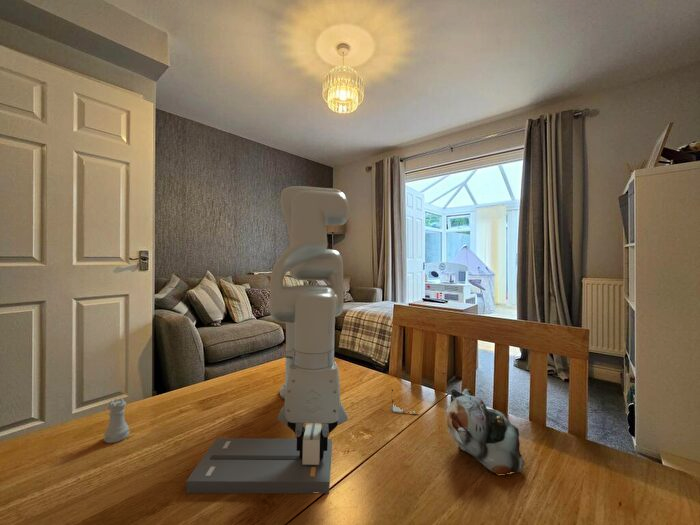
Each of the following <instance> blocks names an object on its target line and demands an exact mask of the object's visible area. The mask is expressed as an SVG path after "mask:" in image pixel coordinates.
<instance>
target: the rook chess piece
mask: <svg viewBox="0 0 700 525" xmlns="http://www.w3.org/2000/svg"><path fill="white" fill-rule="evenodd" d="M126 405H127V402H126V401H125V399H124V398H119V399H118V398H116V399H114V400H111V401H110V402H109V405H108V406H107V410H108V411H109V413H108V416H109V422H108V423H109V424H108V426H107V428H106V431H105V432H104V434H103V435H104V438H103V441H104V442H106V443H108V444H115V443H119V442H122V441H123V440H125V439H126V438H128V436H129V435H130V433H131V431H130V428H129V425H128V423H127V422H126V420H125V419H126V418H125V412H126V410H125V407H126Z"/></svg>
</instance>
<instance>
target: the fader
mask: <svg viewBox="0 0 700 525" xmlns="http://www.w3.org/2000/svg"><path fill="white" fill-rule="evenodd" d="M304 428H305V433H304V437H303V462H302V465H319V461H320V434H321V430H322V424H316V423H311V424H306V425H305V427H304Z"/></svg>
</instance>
